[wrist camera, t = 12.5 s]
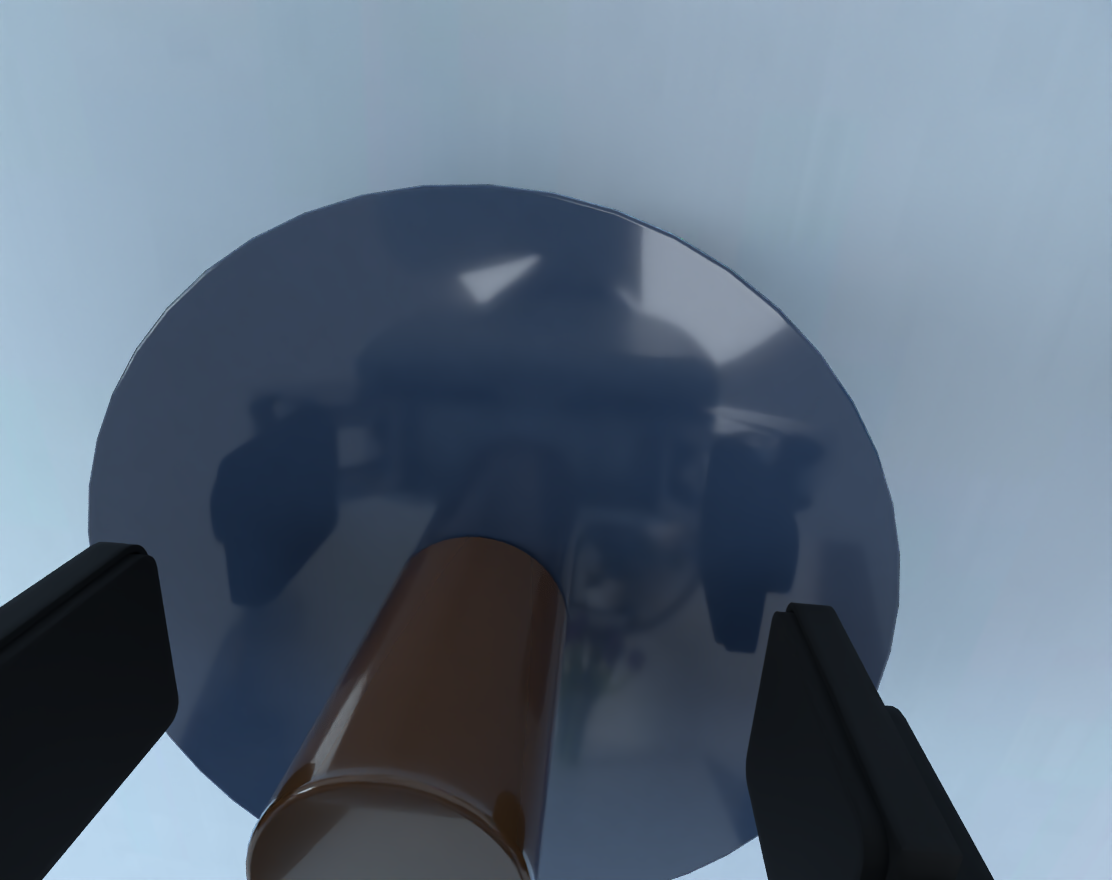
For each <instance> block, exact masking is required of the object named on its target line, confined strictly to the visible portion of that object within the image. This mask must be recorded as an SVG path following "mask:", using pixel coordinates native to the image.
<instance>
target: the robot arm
mask: <svg viewBox="0 0 1112 880" xmlns="http://www.w3.org/2000/svg"><path fill="white" fill-rule="evenodd" d="M178 704H179V697H178V691H177V685H176V679H175V673H174V667H173V660H172V654H171V648H170V642H169V636H168V630H167V624H166V618H165V611H164V605H163V599H162V593H161V587H160V581H159V575H158V569H157V564H156V561H155V559H154V558H153V557H152V556H150V555H148V554H147V552H146V550H145V549H144V548H143V547H142V546H140V545H136V544H125V543H114V542H98V543H95V544H93V545H91V546H90V547H89V548H87V549H86V550H84V551H83V552H81V553H80V554H78V555H77V556H75V557H74V558H72V559H71V560H69V561H68V562H66V563H65V564H63V565H62V566H61V567H59V568H58V569H56V570H55V571H53V572H52V573H50V574H49V575H47V576H46V577H44V578H43V579H41V580H40V581H38V582H37V583H35V584H34V585H32V586H31V587H30V588H28V589H27V590H25V591H24V592H22V593H21V594H19V595H18V596H16V597H15V598H13V599H12V600H10V601H9V602H7V603H6V604H4V605H3V606H1V607H0V880H42V879H43V878H44V877H45V876H46V874H47V873H48V872H49V871H50V870H51V868H52V867H53V866H54V865H55V864H56V862H57V861H58V860H59V859H60V858H61V856H62V855H63V854H64V853H65V852H66V850H67V849H68V848H69V847H70V846H71V844H72V843H73V842H74V841H75V840H76V838H77V837H78V836H79V835H80V834H81V832H82V831H83V830H84V829H85V828H86V826H87V825H88V824H89V823H90V822H91V820H92V819H93V818H94V817H95V816H96V814H97V813H98V812H99V811H100V809H101V808H102V807H103V806H104V805H105V803H106V802H107V801H108V800H109V799H110V797H111V796H112V795H113V794H114V793H115V791H116V790H117V789H118V788H119V787H120V785H121V784H122V783H123V782H124V781H125V779H126V778H127V777H128V776H129V775H130V773H131V772H132V771H133V770H134V769H135V767H136V766H137V765H138V764H139V763H140V761H141V760H142V759H143V758H144V757H145V755H146V754H147V753H148V752H149V751H150V749H151V748H152V747H153V746H154V745H155V743H156V742H157V741H158V740H159V739H160V737H161V736H162V735H163V734H164V733H165V731H166V730H167V729H168V728H169V726H170V725H171V724H172V722H173V720H174V718H175V716H176V713H177V710H178ZM746 781H747V787H748V791H749V796H750V800H751V805H752V809H753V814H754V818H755V823H756V827H757V832H758V836H759V841H760V845H761V850H762V854H763V859H764V863H765V868H766V872H767V877H768V880H994V879H993V877H992V875H991V873H990V871H989V870H988V868H987V866H986V864H985V862H984V861H983V859H982V857H981V855H980V853H979V851H978V850H977V848H976V846H975V844H974V842H973V841H972V839H971V837H970V835H969V833H968V831H967V830H966V828H965V826H964V824H963V822H962V821H961V819H960V817H959V815H958V813H957V811H956V810H955V808H954V806H953V804H952V802H951V801H950V799H949V797H948V795H947V793H946V791H945V790H944V788H943V786H942V784H941V782H940V781H939V779H938V777H937V775H936V773H935V771H934V770H933V768H932V766H931V764H930V762H929V761H928V759H927V757H926V755H925V753H924V751H923V750H922V748H921V746H920V744H919V742H918V741H917V739H916V737H915V735H914V733H913V731H912V730H911V728H910V726H909V724H908V722H907V721H906V719H905V717H904V716H903V715H902V713H901V712H900V711H899V710H898V709H896V708H895V707H893V706H885V705H884V703H883V702H882V700H881V698H880V696H879V694H878V692H877V690H876V688H875V686H874V684H873V682H872V681H871V679H870V677H869V675H868V673H867V671H866V669H865V667H864V665H863V663H862V661H861V660H860V658H859V656H858V654H857V652H856V650H855V648H854V646H853V644H852V642H851V640H850V639H849V637H848V635H847V633H846V631H845V629H844V627H843V625H842V623H841V621H840V619H839V618H838V616H837V614H836V612H835V610H834V609H833V608H832V607H831V606H826V605H815V604H804V603H793V602H791V603H790V604H788V606H787V608H786V612H779V611H776V612H775V613H774V615H773V617H772V621H771V627H770V632H769V638H768V643H767V648H766V654H765V659H764V664H763V670H762V675H761V681H760V686H759V691H758V697H757V702H756V707H755V713H754V718H753V724H752V729H751V734H750V740H749V745H748V750H747V756H746Z"/></svg>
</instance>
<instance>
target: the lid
mask: <svg viewBox="0 0 1112 880" xmlns="http://www.w3.org/2000/svg"><path fill="white" fill-rule="evenodd" d="M88 536H89V544H90V546H91V545H93V544H95V543H98V542H114V543H125V544H136V545H140V546H142V547H143V548H144V549H145V550H146V552H147V554H148V555H150V556H152V557H153V558H154V559H155V561H156V564H157V569H158V575H159V581H160V587H161V593H162V599H163V605H164V611H165V618H166V624H167V630H168V636H169V642H170V648H171V654H172V660H173V667H174V673H175V679H176V685H177V691H178V697H179V704H178V710H177V713H176V716H175V718H174V720H173V722H172V724H171V725H170V726H169V728H168V729H167V730H166V731H165V732H166V733H167V734H168V736H169V737H170V738H171V739H172V740H173V742H174V743H175V744H176V745H177V746H178V747H179V748H180V749H181V751H182V752H183V753H184V754H185V755H186V756H187V757H188V758H189V759H190V761H191V762H192V763H193V764H194V765H195V766H196V767H197V768H198V769H199V771H201V772H202V773H203V774H204V775H205V776H206V777H207V778H208V779H209V780H211V781H212V782H213V783H214V784H215V785H216V786H217V787H218V788H219V789H221V790H222V791H223V792H224V793H225V794H226V795H227V796H228V797H229V798H230V799H232V800H233V801H234V802H235V803H237V804H238V805H240V806H241V807H242V808H244V809H245V810H246V811H248V812H249V813H250V814H252V815H253V816H255V817H256V818H257V819H259V820H258V822H257V823H256V825H255V827H254V829H253V831H252V834H251V837H250V840H249V843H248V850H247V857H246V876H247V880H672V879H675V878H678V877H681V876H683V875H686V874H689V873H691V872H693V871H695V870H697V869H699V868H701V867H704V866H706V865H708V864H710V863H712V862H714V861H716V860H718V859H721V858H723V857H725V856H727V855H728V854H730V853H732V852H733V851H735V850H736V849H738V848H740V847H741V846H743V845H744V844H746V843H748V842H749V841H751V840H752V839H754V838H756V837H757V836H758V832H757V827H756V823H755V818H754V814H753V809H752V805H751V800H750V796H749V791H748V787H747V781H746V756H747V750H748V745H749V740H750V734H751V729H752V724H753V718H754V713H755V707H756V702H757V697H758V691H759V686H760V681H761V675H762V670H763V664H764V659H765V654H766V648H767V643H768V638H769V632H770V627H771V621H772V617H773V615H774V613H775V612H776V611H779V612H786V608H787V606H788V604H790V603H791V602H793V603H804V604H815V605H826V606H831V607H832V608H833V609H834V610H835V612H836V614H837V616H838V618H839V619H840V621H841V623H842V625H843V627H844V629H845V631H846V633H847V635H848V637H849V639H850V640H851V642H852V644H853V646H854V648H855V650H856V652H857V654H858V656H859V658H860V660H861V661H862V663H863V665H864V667H865V669H866V671H867V673H868V675H869V677H870V679H871V681H872V682H873V684H874V686H875V688H876V690H878V687H879V684H880V681H881V678H882V675H883V672H884V669H885V667H886V664H887V661H888V658H889V655H890V652H891V646H892V641H893V635H894V629H895V624H896V618H897V613H898V607H899V576H900V551H899V544H898V536H897V529H896V522H895V515H894V507H893V502H892V499H891V495H890V492H889V489H888V485H887V482H886V479H885V475H884V472H883V469H882V465H881V462H880V459H879V455H878V452H877V450H876V448H875V446H874V444H873V442H872V439H871V437H870V435H869V433H868V431H867V429H866V427H865V425H864V423H863V421H862V419H861V416H860V414H859V412H858V410H857V408H856V406H855V404H854V402H853V400H852V399H851V397H850V396H849V394H848V393H847V391H846V390H845V388H844V387H843V386H842V384H841V383H840V381H839V380H838V378H837V377H836V375H835V374H834V372H833V371H832V369H831V368H830V366H829V365H828V363H827V362H826V360H825V359H824V357H823V356H822V355H821V353H820V352H819V351H818V350H817V349H816V348H815V347H814V346H813V344H812V343H811V342H810V341H809V340H808V339H807V338H806V337H805V336H804V335H803V334H802V332H801V331H800V330H799V329H798V328H797V327H796V326H795V325H794V324H793V323H792V322H791V320H790V319H789V318H788V317H787V316H786V315H785V314H784V313H783V312H782V311H781V310H780V309H779V308H778V307H777V306H776V305H775V304H773V303H772V302H771V301H770V300H768V299H767V298H766V297H765V296H764V295H762V294H761V293H760V292H759V291H757V290H756V289H755V288H754V287H753V286H751V285H750V284H749V283H748V282H746V281H745V280H744V279H743V278H742V277H740V276H739V275H738V274H737V273H735V272H734V271H733V270H732V269H730V268H729V267H727V266H726V265H724V264H722V263H721V262H719V261H717V260H716V259H714V258H712V257H711V256H709V255H708V254H706V253H704V252H703V251H701V250H699V249H698V248H696V247H694V246H693V245H691V244H689V243H688V242H686V241H684V240H683V239H681V238H679V237H678V236H676V235H674V234H672V233H670V232H668V231H665V230H663V229H661V228H658V227H656V226H654V225H651V224H649V223H647V222H644V221H642V220H640V219H637V218H635V217H633V216H630V215H628V214H626V213H623V212H621V211H619V210H616V209H613V208H609V207H606V206H602V205H598V204H595V203H591V202H587V201H584V200H580V199H576V198H573V197H569V196H565V195H562V194H558V193H554V192H546V191H538V190H530V189H523V188H515V187H507V186H499V185H491V184H472V185H421V186H415V187H409V188H402V189H396V190H389V191H383V192H377V193H370V194H364V195H360V196H357V197H353V198H350V199H347V200H344V201H340V202H337V203H334V204H331V205H328V206H324V207H321V208H318V209H315V210H312V211H308V212H305V213H303V214H301V215H299V216H297V217H295V218H293V219H290V220H288V221H286V222H284V223H282V224H280V225H278V226H276V227H274V228H272V229H270V230H268V231H266V232H264V233H262V234H260V235H258V236H255V237H253V238H252V239H250V240H249V241H247V242H246V243H244V244H243V245H241V246H240V247H239V248H237V249H236V250H234V251H233V252H231V253H230V254H229V255H227V256H226V257H224V258H223V259H221V260H220V261H218V262H217V263H216V264H214V265H213V266H211V267H210V268H208V269H207V270H206V271H205V272H204V273H203V274H201V275H200V276H199V277H198V278H197V279H196V280H195V281H194V282H193V283H192V284H191V285H190V286H189V287H188V288H187V289H186V290H185V291H184V292H183V293H182V294H181V295H180V296H179V297H178V298H176V299H175V300H174V301H173V302H172V303H171V304H170V305H169V306H168V307H167V308H166V310H165V311H164V312H163V314H162V315H161V316H160V318H159V319H158V320H157V322H156V323H155V324H154V326H153V327H152V328H151V330H150V331H149V332H148V334H147V335H146V336H145V338H144V339H143V340H142V342H141V343H140V344H139V346H138V347H137V348H136V350H135V352H134V354H133V356H132V357H131V359H130V361H129V363H128V365H127V367H126V369H125V371H124V373H123V375H122V376H121V378H120V380H119V382H118V384H117V386H116V388H115V390H114V392H113V394H112V396H111V399H110V402H109V405H108V408H107V411H106V414H105V417H104V420H103V423H102V426H101V429H100V432H99V435H98V438H97V442H96V448H95V454H94V460H93V465H92V471H91V477H90V483H89V510H88Z"/></svg>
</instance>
